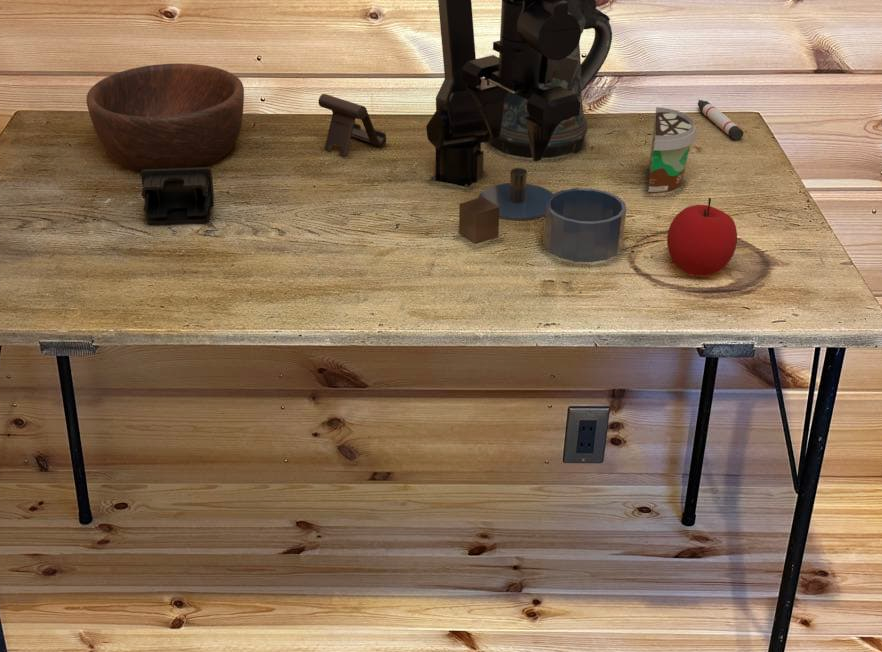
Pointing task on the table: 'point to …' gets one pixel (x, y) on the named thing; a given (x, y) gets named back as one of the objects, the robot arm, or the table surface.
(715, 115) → the marker
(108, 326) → the table surface
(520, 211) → the lid
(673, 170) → the food container
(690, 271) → the apple
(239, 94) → the wooden bowl
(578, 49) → the beer stein
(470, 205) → the block
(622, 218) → the tin
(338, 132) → the tablet stand
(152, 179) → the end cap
